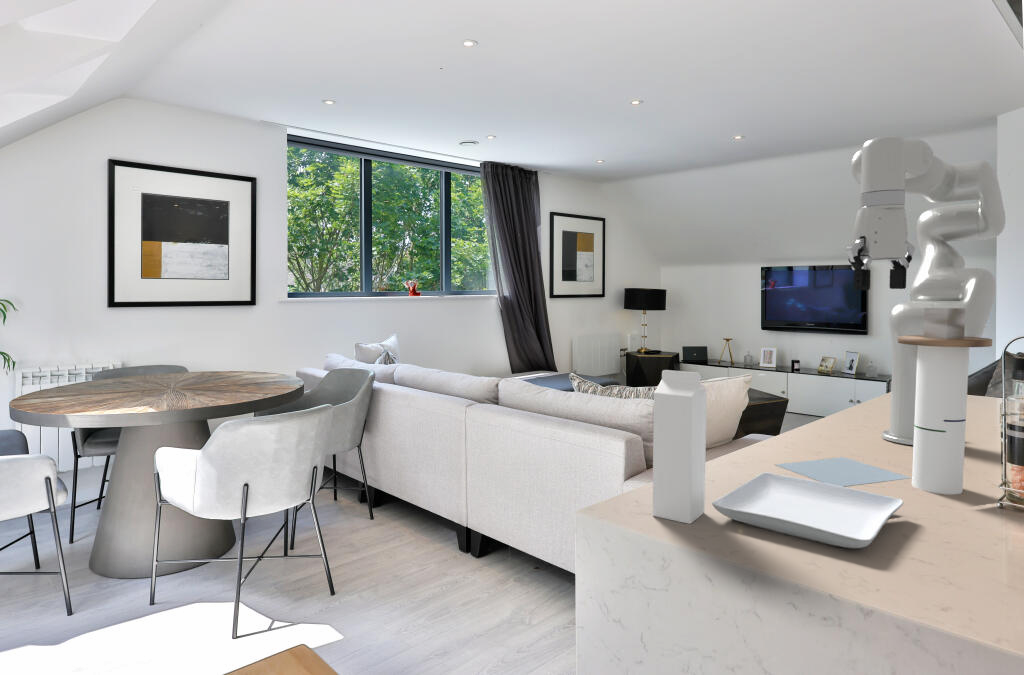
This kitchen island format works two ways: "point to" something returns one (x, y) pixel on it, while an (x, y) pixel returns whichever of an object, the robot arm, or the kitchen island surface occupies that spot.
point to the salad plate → (809, 509)
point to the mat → (841, 471)
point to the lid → (944, 330)
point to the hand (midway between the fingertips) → (879, 289)
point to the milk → (679, 447)
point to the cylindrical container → (940, 419)
